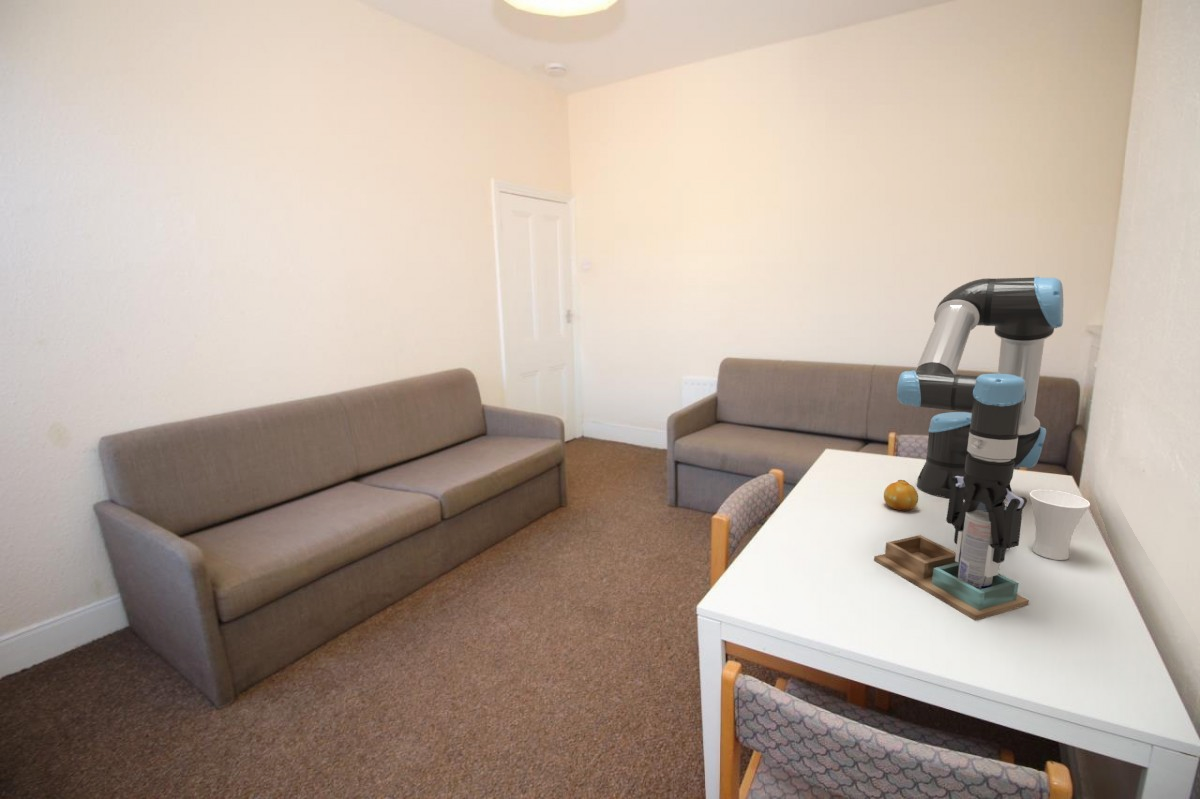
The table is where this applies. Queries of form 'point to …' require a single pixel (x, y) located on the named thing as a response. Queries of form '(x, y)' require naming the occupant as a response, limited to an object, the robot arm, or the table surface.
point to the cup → (1056, 521)
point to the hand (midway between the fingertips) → (975, 567)
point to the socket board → (948, 578)
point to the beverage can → (975, 549)
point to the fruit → (901, 495)
